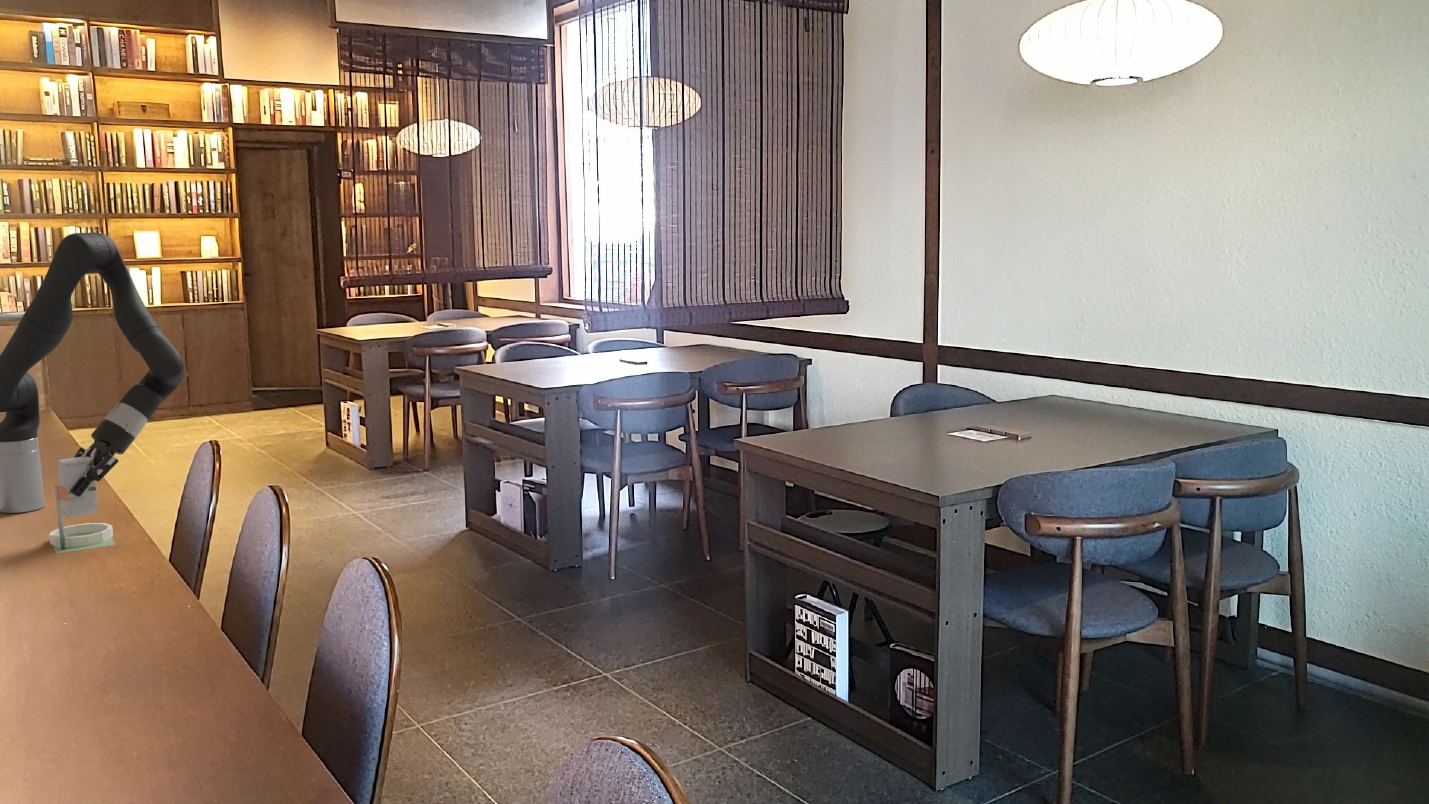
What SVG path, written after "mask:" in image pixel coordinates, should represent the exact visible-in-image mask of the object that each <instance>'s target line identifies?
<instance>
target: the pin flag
mask: <svg viewBox="0 0 1429 804" xmlns="http://www.w3.org/2000/svg"><path fill="white" fill-rule="evenodd" d="M53 485H54V495H55V504H56V505H55V506H56V512H57V514H56V515H57V522H58V523H57V524H58V529H59V534H60V543H61V550H66V548H65V539H64V529H63V527H64V521H63V512H62V502H61V500H64V501H67V502H68V501H69V498H68V489H67V488H66V487H62V486H60V483H55V484H53Z"/></svg>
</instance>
